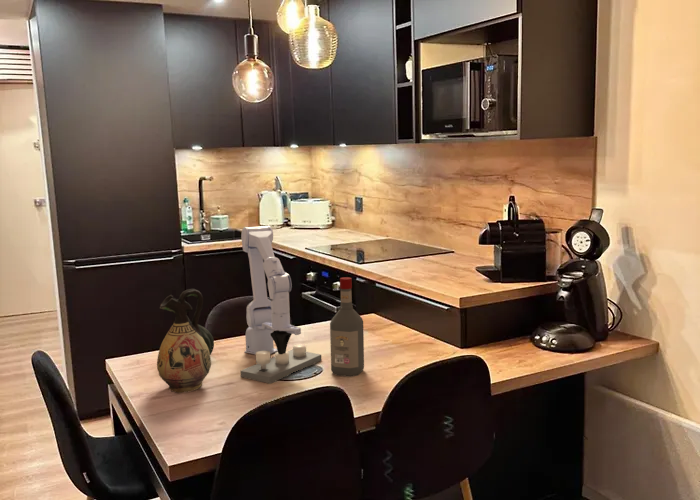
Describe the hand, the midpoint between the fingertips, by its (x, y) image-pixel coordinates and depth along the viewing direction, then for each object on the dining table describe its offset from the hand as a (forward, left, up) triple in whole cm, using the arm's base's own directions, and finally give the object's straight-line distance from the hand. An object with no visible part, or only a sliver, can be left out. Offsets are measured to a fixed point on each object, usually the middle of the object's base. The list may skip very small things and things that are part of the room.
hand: (282, 353), depth 209 cm
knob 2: (0, +9, -5) cm, 10 cm away
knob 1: (0, -9, -2) cm, 9 cm away
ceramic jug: (-13, -28, -5) cm, 31 cm away
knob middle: (0, 0, -5) cm, 5 cm away
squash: (-31, -10, -5) cm, 33 cm away
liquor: (+20, +8, -5) cm, 22 cm away
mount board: (0, 0, -5) cm, 5 cm away
